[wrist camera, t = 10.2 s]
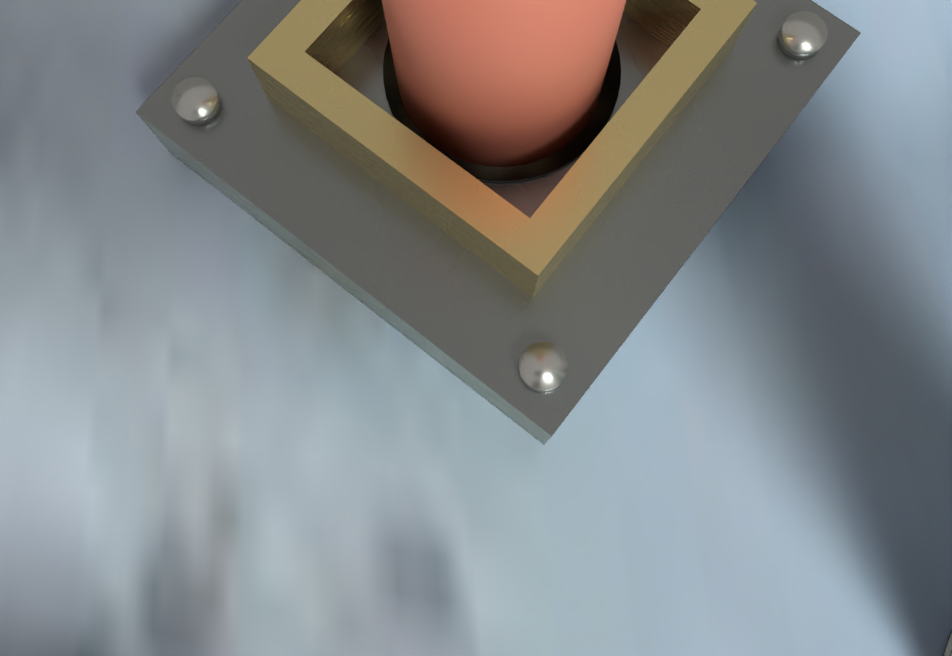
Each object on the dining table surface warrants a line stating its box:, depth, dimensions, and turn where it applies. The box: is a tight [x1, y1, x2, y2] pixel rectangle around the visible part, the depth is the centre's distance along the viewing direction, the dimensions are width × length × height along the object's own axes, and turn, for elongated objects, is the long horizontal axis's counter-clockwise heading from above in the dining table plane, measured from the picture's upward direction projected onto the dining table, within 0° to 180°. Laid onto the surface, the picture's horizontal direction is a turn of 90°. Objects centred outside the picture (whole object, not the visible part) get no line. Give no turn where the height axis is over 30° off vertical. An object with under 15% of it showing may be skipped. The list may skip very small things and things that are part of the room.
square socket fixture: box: [136, 0, 860, 444], centre depth 23 cm, size 14×14×4 cm
